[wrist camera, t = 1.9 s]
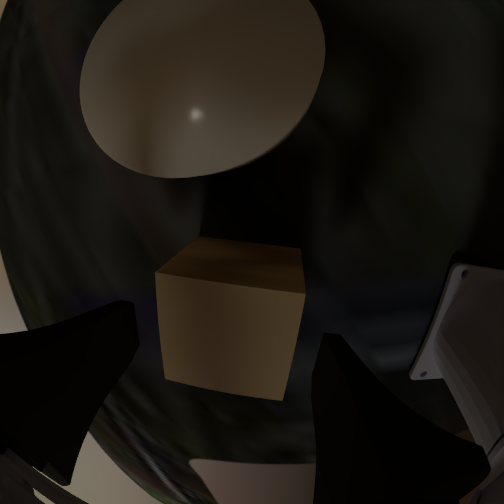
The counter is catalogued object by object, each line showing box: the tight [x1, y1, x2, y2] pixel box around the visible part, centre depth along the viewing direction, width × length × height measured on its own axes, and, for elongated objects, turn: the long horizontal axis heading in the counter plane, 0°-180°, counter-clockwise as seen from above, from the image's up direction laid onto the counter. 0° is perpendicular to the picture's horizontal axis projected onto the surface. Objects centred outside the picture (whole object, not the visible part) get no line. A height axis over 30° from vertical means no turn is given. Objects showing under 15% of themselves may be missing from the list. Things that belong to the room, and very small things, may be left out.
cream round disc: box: [80, 0, 325, 178], centre depth 10 cm, size 11×11×3 cm
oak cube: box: [155, 236, 306, 400], centre depth 12 cm, size 5×5×5 cm
